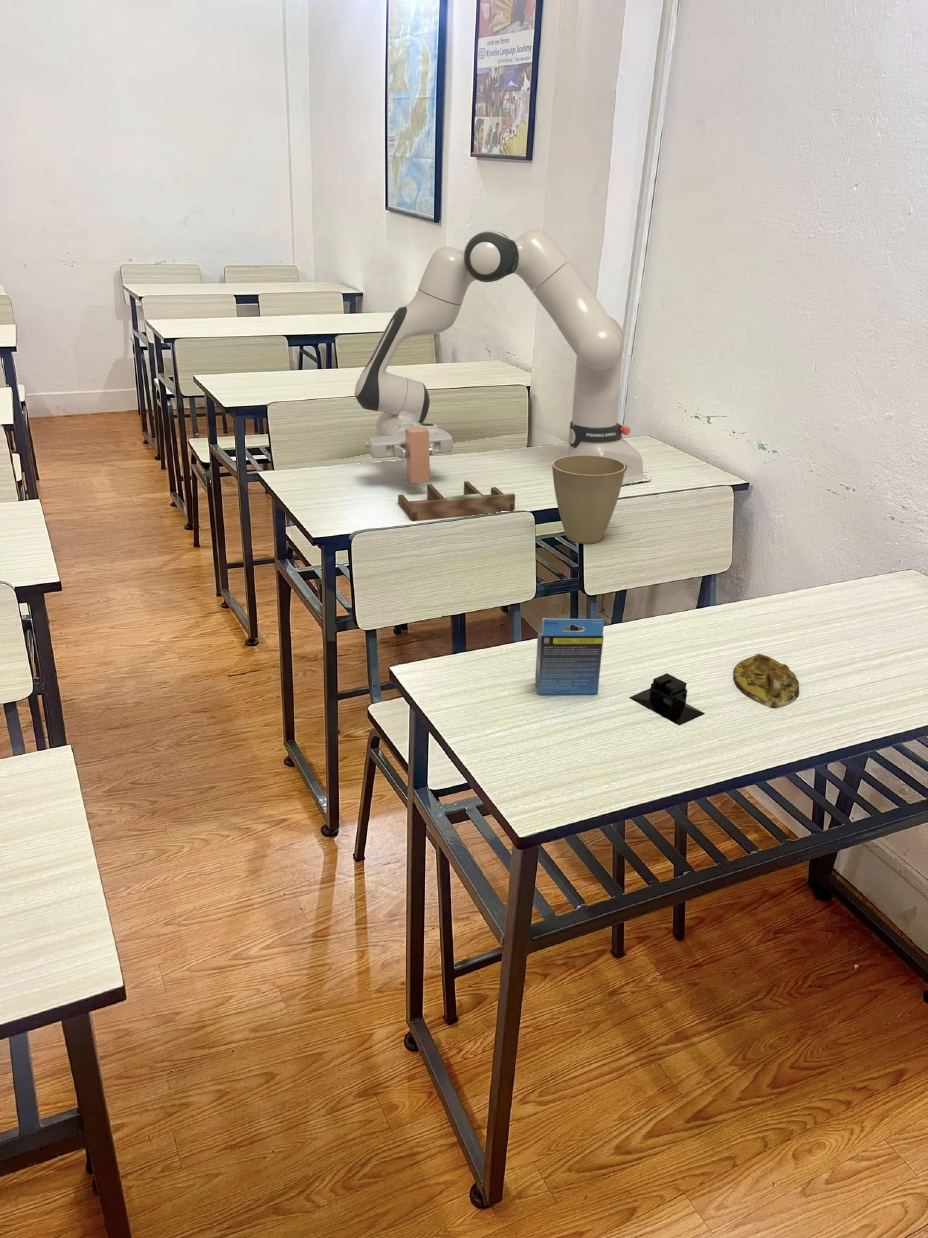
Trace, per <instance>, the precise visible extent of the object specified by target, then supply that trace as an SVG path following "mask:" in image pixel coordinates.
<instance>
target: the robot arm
mask: <svg viewBox="0 0 928 1238" xmlns="http://www.w3.org/2000/svg"><path fill="white" fill-rule="evenodd" d="M512 274H514V275H517V276H518V277H520V279H522V281H523V282H524V283H525V284H526V286H527V287H528V288H529V290H530V291H531V292H532V294H533V295H534V297H535V298H536V299H537V301H538V302H539V303H540V304H541V305H542V307H543V308H544V310H545V311H546V312H547V314H548V316H550V317H551V319H552V321H553V322H554V323H555V325H556V327H557V328H558V330H559V331H560V332H561V334H562V336H563V337H564V339H565V341H566V342H567V343H568V345H569V347H571V349H572V351H573V353H574V354H575V355H576V360H575V361H576V362H575V376H574V387H573V401H572V413H571V414H572V415H571V421H570V423H569V432H568V444H569V447H568V453H567V456H572V455H597V456H605V457H610V458H614V459H617V460H619V461H621V462H623V463H624V464H625V465H626V468H625V473H624V477H623V481H622V485H623V484H625V483H630V482H634V481H638V480H642V479H648V478H644V477H647V476H646V475H643V473H645V472H643V470H644V467H643V458H642V456H641V454H640V452H639V451H638V450H637V449H635V448H634V447H633V446H632V445H631V444H630V443H629V442H628V441H626V440H625V439H624V438H623V435H624V436H628V435H629V434H630V433H631V428H630V427H629V426H626V425H621V424H620V423H618V410H619V399H620V390H621V389H620V388H621V373H622V372H621V371H622V359H623V353H624V347H625V345H624V344H625V343H624V333H623V329H622V327H621V325H620V323H619V322H618V321H617V320H616V319H615V318H613V317H611V316H610V315H609V313H608V312H607V311H606V310H605V308H604V307H603V306H602V304H601V302H600V300H599V299H598V298H597V297H596V295H595V293H594V292H593V290H592V288H591V287H590V286H589V284H588V283H587V281H586V280H585V278H584V277H583V275H582V274H581V273H580V272H579V270H578V269H577V268H576V266H575V265H574V264H573V262H572V261H571V259H569V257H568V256H567V254H566V252H564V251H563V250H562V249H561V248H560V247H559V245H558V244H557V243H556V242H555V241H554V240H553V239H552V238H551V237H550V236H549V235H548V234H547V233H545V232H544V231H542V230H540V229H531V230H529V231H526V232H524V233H523V234H521V235H520V236H519V237H518V238H516V239H512V238H511V239H510V238H509V237H508V236H507V235H506V234H504V233H502V232H499V231H496V230H491V229H490V230H484V231H481V232H479V233H478V234H477V233H476V235H474V236H472V238H470V239H469V241H468V242H467V244H466V246H465V248H464V249H463V250H462V249H458V248H455V247H447V246H445V247H444V246H443V247H440V248H437V249H436V250H435V251H434V253H433V254H432V256H431V258H430V259H429V261H428V263H427V266H426V267H425V270H424V272H423V274H422V277H421V280H420V282H419V285H418V287H417V288H418V289H417V291H416V292H415V295H414V297H413V298H411V300H410V302H409V303H408V304H407V305H405V306H402V307H401V306H400V307H398V309H397V310H395V312H394V313H393V315H392V317H391V319H390V320H389V321H388V323H387V326H386V328H385V329H384V331H383V333H382V335H381V337H380V339H379V341H378V343H377V345H376V347H375V349H374V351H373V353H372V355H371V356H370V359H369V360H368V362H367V364H366V366H365V367H364V369H363V370H362V371H361V374H360V375H359V377H358V379H357V381H356V384H355V386H354V387H355V388H354V397H355V399H356V400H357V402H358V404H359V405H360V406H361V407H362V409H364V410H367V411H368V410H369V411H373V412H381V414H379V416H378V417H377V418H378V419H377V421H376V432H377V435H378V436H372V437H370V438H369V439H368V440H369V441H364V447H365V448H368V449H369V454H370V457H371V458H374V459H382V458H383V459H385V458H395V457H396V458H397V457H398V458H400V459H406V457H409V450H408V449H407V448H406V433H405V428H414V427H425V428H426V429H427V430H428V431H429V457H430V456H434V454H442V453H450V452H453V451H454V450H453V449H454V441H453V439H454V438H453V436H452V435H451V434H450V433H448V432H447V431H446V430H444V429H441V428H439V425H438V424H435V423H424V422H425V420H426V419H427V418H426V417H427V414H428V412H429V409H430V395H429V392H428V389H427V387H426V385H425V384H424V383H423V382H421V381H418V380H414V379H411V378H409V377H408V378H407V377H403V376H400V375H396V374H393V373H390V372H387V369H388V367H389V366H390V363H391V361H392V359H393V358H394V355H395V353H396V351H397V350H398V348H399V346H400V345H401V344H402V342H404V341H405V340H406V339H409V338H411V337H412V338H413V337H417V336H431V335H437V334H440V333H443V332H445V331H447V330H449V329H450V328H451V327H452V326H453V325H454V324H455V322H456V321H457V318H458V316H459V313H460V310H461V307H462V304H463V302H464V298H465V296H466V292H467V291H468V289H469V287H470V285H471V284H472V283H473V282H475V281H478V282H480V283H481V282H482V283H492V282H493V283H494V282H497V281H500V280H502V279H503V278H505V277H507V276H509V275H512ZM622 434H623V435H622Z"/></svg>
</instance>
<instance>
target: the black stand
mask: <svg viewBox="0 0 928 1238" xmlns="http://www.w3.org/2000/svg"><path fill="white" fill-rule="evenodd" d="M687 697H688V689H687V682H686V681H683V680H681V679H680V678H677V677H675V676H673V675H671V674H669V673H664V674H662V675H660V676H658V677H654V678H653V681H652V683H651V684H650V687H649V688H647V689H646V690H643V691H640V692H639V693H636V694H634V695H632V696H629V697H628V698H629V699H630V700H632V701H634V702H635V703H637V704H639V705H641V706H642V707H644V708H647V709H648V710H650V711H652V712H654V713H655V714H657V715H659V716H661V717H662V718H665V720H668V721H670V722H672V723H673V724H675V725H677V726H682V725H684V724H687V723H688V722H690V721H693V720H695V719H697V718H699V717H702V716H704V715H705V714H706V713H705V712H703V711H701V710H700V709H698V708H696V707H694V706H693V705H690V704H688V703H687Z"/></svg>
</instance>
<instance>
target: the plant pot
mask: <svg viewBox="0 0 928 1238" xmlns="http://www.w3.org/2000/svg"><path fill="white" fill-rule="evenodd" d="M551 467H552V469H551V470H552V476H553V477H552V478H553V486H554V494H555V499H556V504H557V509H558V513H559V516H560V521H561V525H562V527H563V530H564V534H565V536H566V539H567V540H568V541H570V542H572V543H576V544H582V545H583V544H585V545H588V544H591V545H592V544H596V543H598V542H600V541H602V539H603V537H604V534H605V533H606V530H607V528H608V526H609V523H610V521H611V519H612V517H613V514H614V512H615V509H616V506H617V502H618V499H619V496H620V493H621V488H622V481H623V477H624V473H625V468H626V465H625V464H624V463H623V462H621V461H619V460H617V459H614V458H610V457H605V456H597V455H572V456H568V455H566V456H561V457H558V458H556V459H554V460H553V461H552V463H551Z"/></svg>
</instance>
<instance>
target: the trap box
mask: <svg viewBox="0 0 928 1238" xmlns="http://www.w3.org/2000/svg"><path fill="white" fill-rule="evenodd" d="M397 504H398V505H399V506H400V508H401V509H402V510H403V512H404V513H405V514H406V516H407V517H408V518H409V519H410V520H411V522H417V521H429V520H439V519H451V518H460V517H461V518H462V516H463V517H473V516H472V515H474V516H480V515H479V514H485V515H489V514H488V513H496V512H501V511H513V510H515V509H516V508H515V507H516V506H515V505H516V494H515V493H514V492H513V493H503V492H502V491H501V490H500V489H499V488H498V487H496V486H492V487H490V494H482V492H481V491H480V490H478V489H477V488H476V487H475V485H473V484H472V483H470V482H469V480H467V481H463V494H461V495H460V494H459V495H449V496H448V495H446V496H445V497H444V496H443V494H441V493H440V492H439V490H437V488H436V487H435V486H434V485H433V484H432V483H427V485H426V499H422V500H421V499H419V500H412V501H411V500H410V501H409V500H408V499H407V497H405V495H404V494H397Z"/></svg>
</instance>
